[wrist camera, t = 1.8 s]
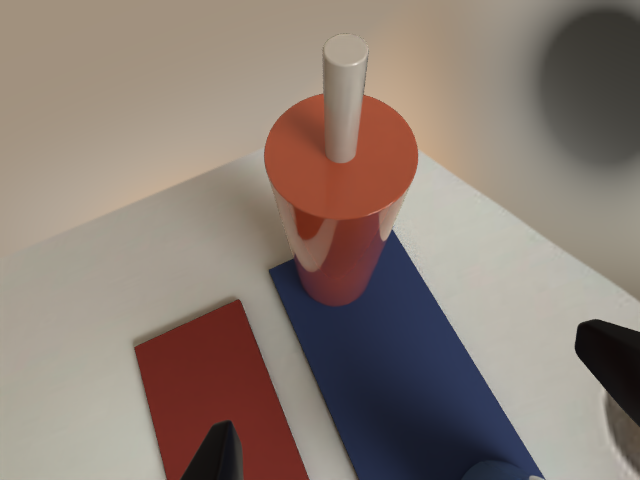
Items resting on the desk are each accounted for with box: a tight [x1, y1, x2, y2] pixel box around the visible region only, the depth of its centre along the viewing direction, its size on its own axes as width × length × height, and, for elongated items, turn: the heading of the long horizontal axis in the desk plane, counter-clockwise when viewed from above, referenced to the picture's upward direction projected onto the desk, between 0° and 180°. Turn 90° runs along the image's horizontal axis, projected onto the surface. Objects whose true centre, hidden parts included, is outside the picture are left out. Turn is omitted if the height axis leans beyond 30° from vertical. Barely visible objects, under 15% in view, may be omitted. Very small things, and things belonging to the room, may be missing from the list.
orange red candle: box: [264, 33, 418, 306], centre depth 15 cm, size 5×5×16 cm
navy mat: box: [269, 229, 545, 480], centre depth 20 cm, size 20×9×1 cm, turn 25°
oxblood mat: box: [134, 299, 309, 480], centre depth 19 cm, size 14×7×1 cm, turn 25°
